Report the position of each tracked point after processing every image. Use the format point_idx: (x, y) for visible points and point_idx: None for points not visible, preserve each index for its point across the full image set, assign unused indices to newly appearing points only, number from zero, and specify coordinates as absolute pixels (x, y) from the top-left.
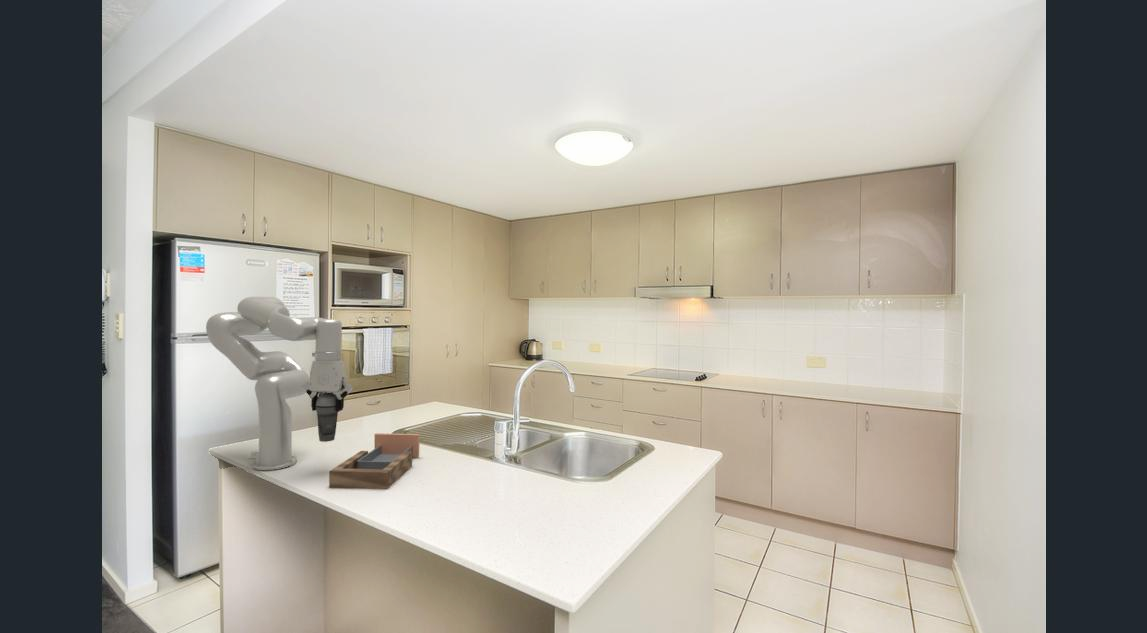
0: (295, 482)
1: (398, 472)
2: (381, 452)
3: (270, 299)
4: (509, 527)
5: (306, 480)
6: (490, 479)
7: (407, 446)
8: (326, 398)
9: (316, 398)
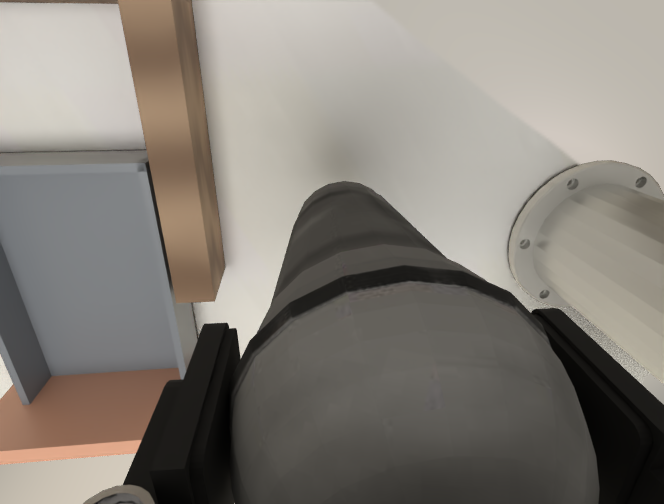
0: (397, 25)
1: None
2: None
3: None
4: None
5: (360, 57)
6: None
7: (52, 401)
8: (379, 438)
9: (624, 479)
